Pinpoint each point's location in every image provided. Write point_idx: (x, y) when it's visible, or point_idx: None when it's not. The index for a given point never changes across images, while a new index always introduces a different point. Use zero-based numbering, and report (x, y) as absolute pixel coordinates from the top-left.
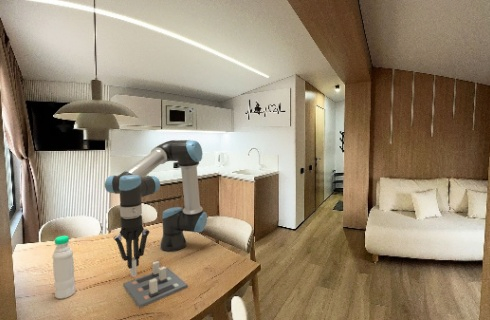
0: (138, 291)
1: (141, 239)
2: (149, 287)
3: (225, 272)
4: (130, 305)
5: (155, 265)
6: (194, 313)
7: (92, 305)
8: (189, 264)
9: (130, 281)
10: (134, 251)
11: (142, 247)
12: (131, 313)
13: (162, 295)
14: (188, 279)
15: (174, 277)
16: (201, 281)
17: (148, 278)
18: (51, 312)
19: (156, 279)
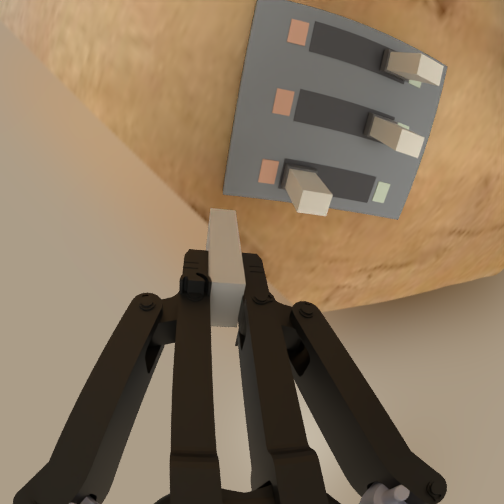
0: (271, 106)
1: (355, 433)
2: (294, 177)
3: (476, 240)
4: (208, 149)
5: (416, 75)
6: None
7: (106, 46)
8: (488, 116)
9: (292, 6)
10: (246, 357)
11: (309, 398)
12: (190, 194)
13: None
14: (427, 182)
15: None
16: (430, 223)
17: (357, 56)
18: (15, 15)
19: (328, 208)
